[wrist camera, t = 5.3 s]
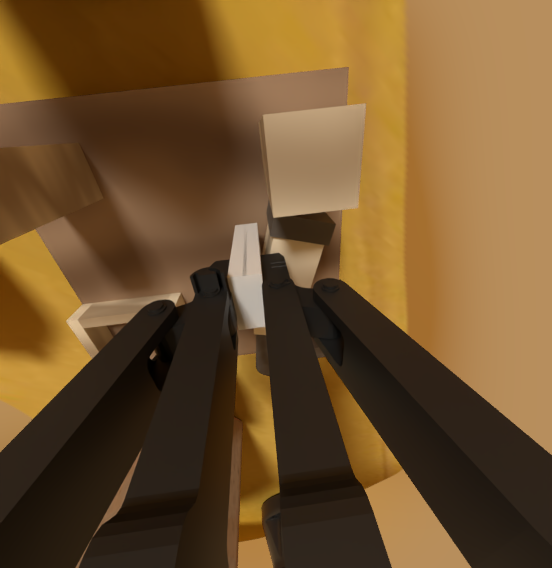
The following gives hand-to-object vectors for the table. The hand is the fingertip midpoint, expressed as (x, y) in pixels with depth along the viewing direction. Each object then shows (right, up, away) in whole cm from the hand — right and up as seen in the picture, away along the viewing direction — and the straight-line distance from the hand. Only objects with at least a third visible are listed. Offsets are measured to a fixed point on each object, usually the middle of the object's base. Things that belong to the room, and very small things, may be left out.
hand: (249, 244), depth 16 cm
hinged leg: (+2, 0, +2) cm, 3 cm away
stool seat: (-4, 0, +4) cm, 5 cm away
